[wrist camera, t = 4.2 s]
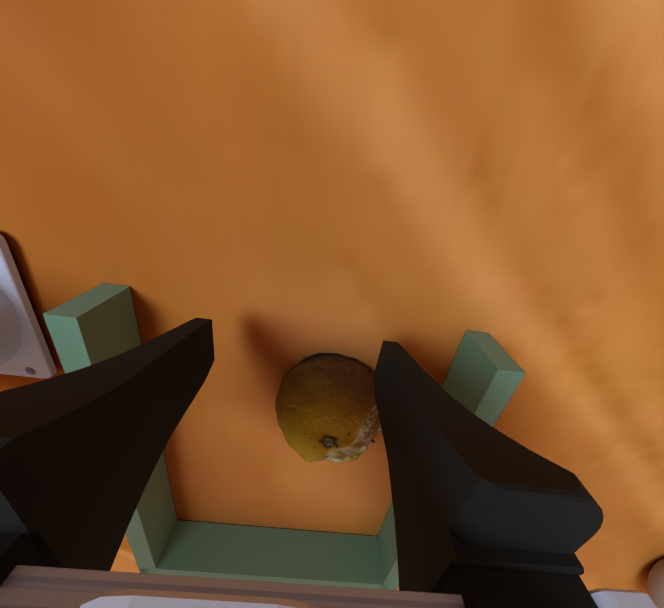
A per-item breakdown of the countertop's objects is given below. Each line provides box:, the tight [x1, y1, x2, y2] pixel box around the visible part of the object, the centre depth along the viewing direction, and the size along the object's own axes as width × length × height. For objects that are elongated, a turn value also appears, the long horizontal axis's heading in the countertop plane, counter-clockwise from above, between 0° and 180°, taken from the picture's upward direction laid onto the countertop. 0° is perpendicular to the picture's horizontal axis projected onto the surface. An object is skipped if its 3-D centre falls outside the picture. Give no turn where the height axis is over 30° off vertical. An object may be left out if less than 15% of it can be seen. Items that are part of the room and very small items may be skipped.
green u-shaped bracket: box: [43, 283, 525, 590], centre depth 17 cm, size 19×22×3 cm
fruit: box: [275, 353, 382, 462], centre depth 15 cm, size 8×8×4 cm
